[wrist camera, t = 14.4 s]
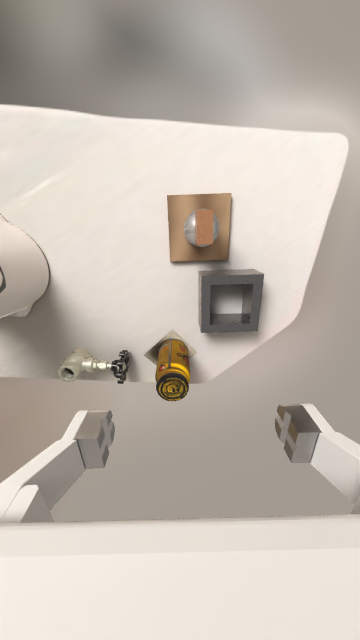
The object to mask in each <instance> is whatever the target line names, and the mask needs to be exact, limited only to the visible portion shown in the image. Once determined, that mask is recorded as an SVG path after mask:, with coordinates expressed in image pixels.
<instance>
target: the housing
mask: <svg viewBox="0 0 360 640" xmlns="http://www.w3.org/2000/svg"><path fill="white" fill-rule="evenodd" d="M263 279H264V274H263V273H261V272H258V271H256V270H254V269H248V270H218V271H199V326H200V330H201V333H209V332H240V331H258V322H259V313H260V305H261V296H262V288H263ZM231 284H244V293H243V305H242V314H211V315H210V289H211V285H231Z"/></svg>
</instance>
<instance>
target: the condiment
mask: <svg viewBox="0 0 360 640" xmlns="http://www.w3.org/2000/svg"><path fill="white" fill-rule="evenodd" d="M158 349H159V350H158ZM195 353H196V351H195V350H194V349H193V348H191V346H189V345H188V344H187V343H186V342H185V341H184V340H183V339H182V338H181V337H180V336H179V335H177V334H176V333H175V332H174V331H173V330H172V331H171V332H169V333H168V334H167V335H166V336H165V337H164V338H162V339H161V340H160V341H159V342H158V343H157V344H156V345H155V346H154V347H153V348H151V349H150V350H149V351H148V352H147V353H146V354H145V355H144V356H145V357H147V358H148V359H149V360H151V361H152V362H153V363H154V364H156V365H157V369H156V375H155V377H156V382H157V385H156V390H157V392H158V394H159V395H160V397H162V398H163V399H165V400H167V401H177V400H180V399H182V398H184V397H185V396H186V394H187V392H188V389H189V385H188V384H189V381H190V370H189V358H190V357H191V356H192V355H194V354H195Z"/></svg>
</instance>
